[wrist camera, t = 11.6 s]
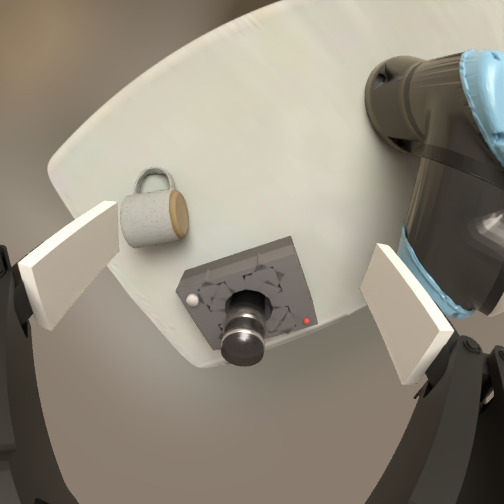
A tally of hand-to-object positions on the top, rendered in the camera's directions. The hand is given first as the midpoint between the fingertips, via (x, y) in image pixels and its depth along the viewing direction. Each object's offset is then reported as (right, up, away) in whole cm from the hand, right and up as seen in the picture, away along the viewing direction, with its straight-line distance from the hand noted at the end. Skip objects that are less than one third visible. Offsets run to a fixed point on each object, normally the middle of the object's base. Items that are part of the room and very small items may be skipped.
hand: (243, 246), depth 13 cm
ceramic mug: (-13, +7, +27) cm, 31 cm away
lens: (0, -7, +30) cm, 31 cm away
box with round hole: (0, -6, +33) cm, 33 cm away
